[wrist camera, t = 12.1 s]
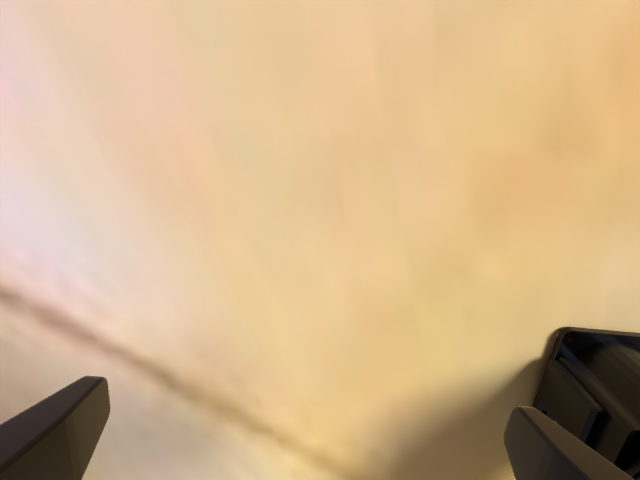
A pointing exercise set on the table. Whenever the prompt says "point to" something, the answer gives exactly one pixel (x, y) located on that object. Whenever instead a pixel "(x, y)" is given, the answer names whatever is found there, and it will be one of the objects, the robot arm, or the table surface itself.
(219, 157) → the table surface
